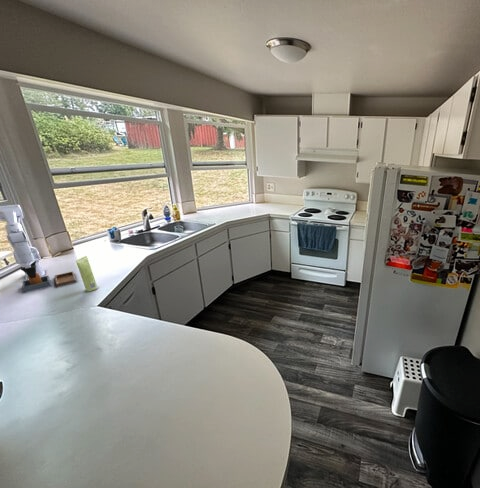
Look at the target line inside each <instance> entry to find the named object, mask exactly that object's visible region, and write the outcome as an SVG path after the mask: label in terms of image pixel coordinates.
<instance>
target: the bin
mask: <svg viewBox="0 0 480 488" xmlns="http://www.w3.org/2000/svg"><path fill="white" fill-rule="evenodd" d="M40 278H41V280H42V283H38V284H34V285H31V284H30V281H29V279H25V280H22V283H21V284H22V285H21V289H22V291H23V293H27V292H32V291H37V290H40V289H45V288H48V287H51V286H52V284H51V283H52V282H51V278H50V276H49V275H43V276H40Z"/></svg>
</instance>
